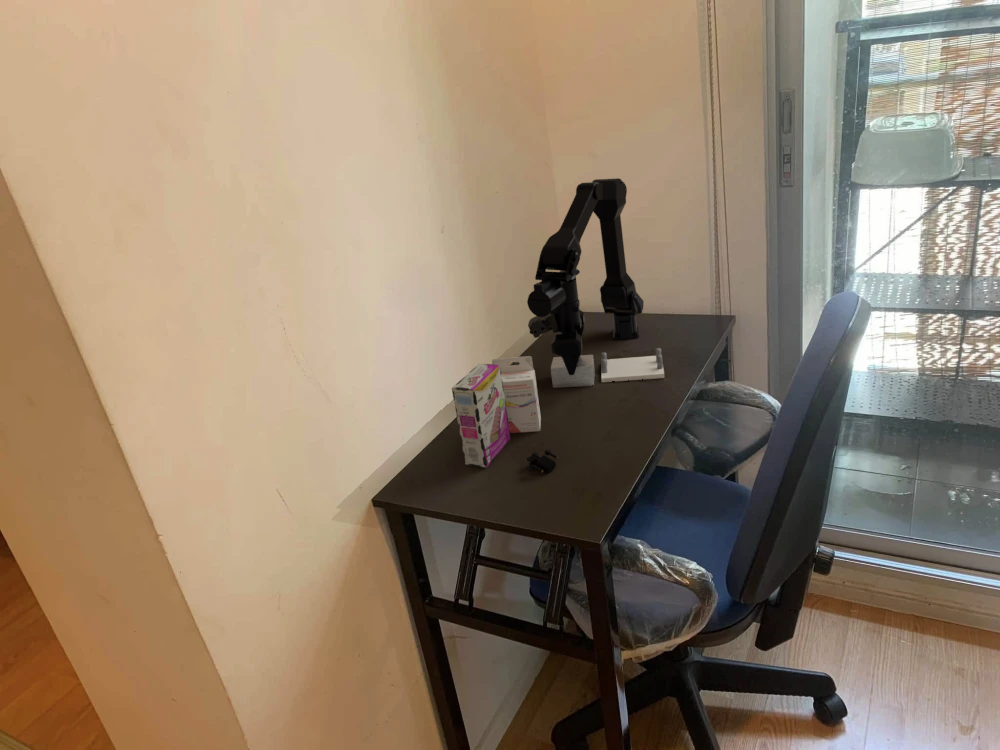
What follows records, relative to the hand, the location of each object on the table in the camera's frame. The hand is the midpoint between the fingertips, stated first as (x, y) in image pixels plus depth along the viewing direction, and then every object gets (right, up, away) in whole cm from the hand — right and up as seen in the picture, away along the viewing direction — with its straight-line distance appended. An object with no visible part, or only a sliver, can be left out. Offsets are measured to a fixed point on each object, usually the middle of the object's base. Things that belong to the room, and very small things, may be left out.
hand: (572, 366), depth 156 cm
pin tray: (+14, -1, +2) cm, 14 cm away
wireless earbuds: (-9, -19, -29) cm, 36 cm away
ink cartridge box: (-12, -13, -14) cm, 23 cm away
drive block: (+1, -4, +1) cm, 4 cm away
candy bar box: (-18, -17, -22) cm, 33 cm away
